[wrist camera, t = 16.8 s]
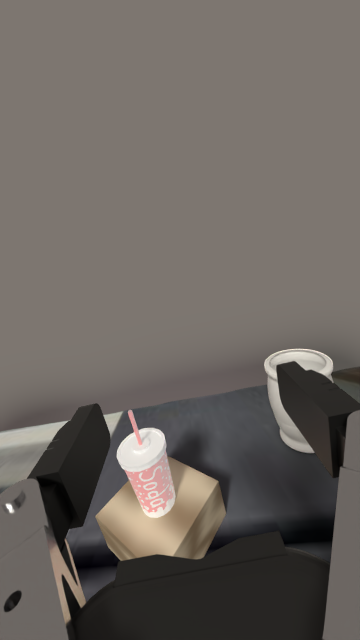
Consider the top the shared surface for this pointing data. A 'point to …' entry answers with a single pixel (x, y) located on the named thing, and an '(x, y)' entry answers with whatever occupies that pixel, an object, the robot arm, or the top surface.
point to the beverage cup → (148, 469)
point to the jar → (287, 427)
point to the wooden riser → (165, 518)
